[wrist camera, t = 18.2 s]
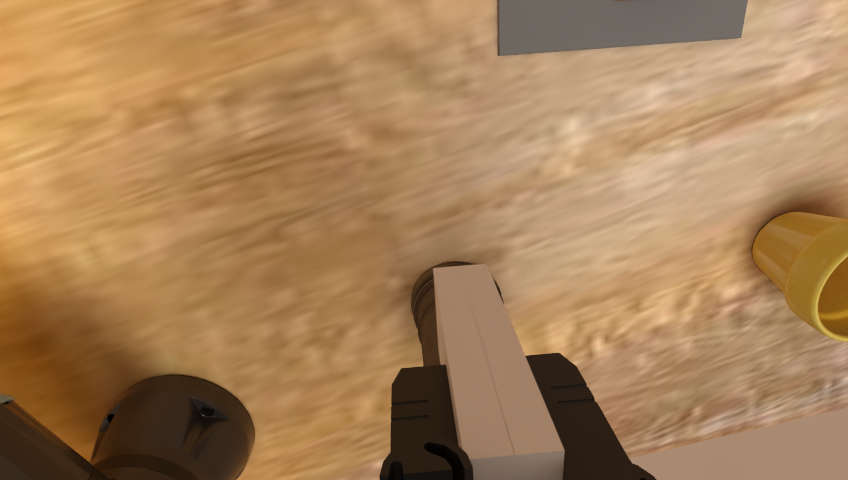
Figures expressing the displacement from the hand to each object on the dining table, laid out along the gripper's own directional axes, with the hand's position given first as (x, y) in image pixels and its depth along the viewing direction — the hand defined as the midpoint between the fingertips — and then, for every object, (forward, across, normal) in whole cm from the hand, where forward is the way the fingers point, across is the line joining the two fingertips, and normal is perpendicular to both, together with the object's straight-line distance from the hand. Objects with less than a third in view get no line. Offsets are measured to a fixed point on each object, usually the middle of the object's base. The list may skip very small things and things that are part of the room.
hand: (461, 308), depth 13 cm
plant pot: (+30, +36, -13) cm, 48 cm away
